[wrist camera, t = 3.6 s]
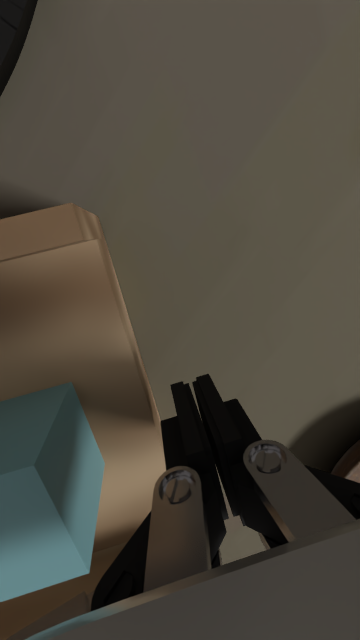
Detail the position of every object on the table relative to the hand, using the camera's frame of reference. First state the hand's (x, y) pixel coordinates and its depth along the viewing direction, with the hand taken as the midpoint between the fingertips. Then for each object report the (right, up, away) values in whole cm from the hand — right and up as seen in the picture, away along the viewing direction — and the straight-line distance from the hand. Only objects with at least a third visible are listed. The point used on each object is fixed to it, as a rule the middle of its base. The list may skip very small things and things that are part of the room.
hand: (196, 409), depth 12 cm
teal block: (-7, -2, +1) cm, 7 cm away
